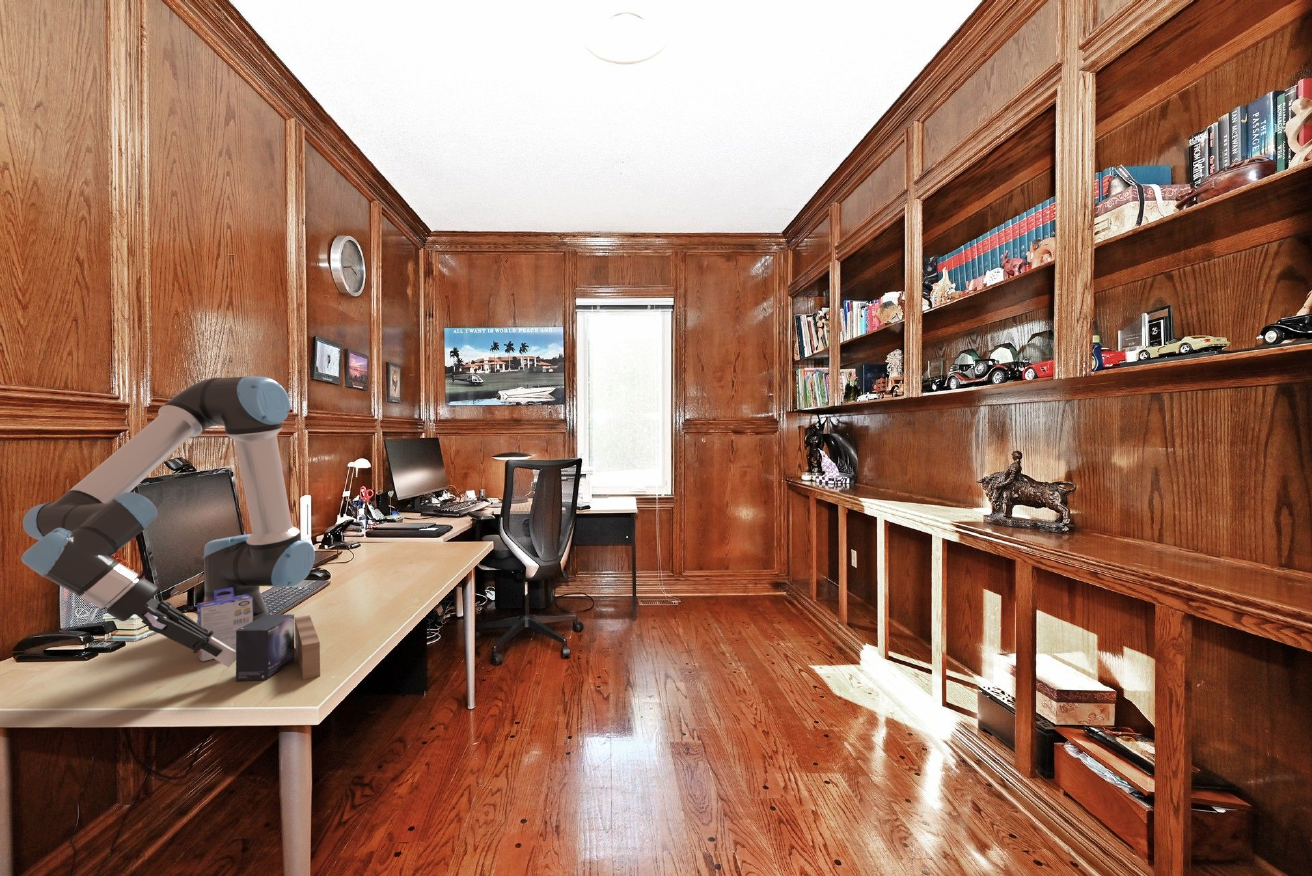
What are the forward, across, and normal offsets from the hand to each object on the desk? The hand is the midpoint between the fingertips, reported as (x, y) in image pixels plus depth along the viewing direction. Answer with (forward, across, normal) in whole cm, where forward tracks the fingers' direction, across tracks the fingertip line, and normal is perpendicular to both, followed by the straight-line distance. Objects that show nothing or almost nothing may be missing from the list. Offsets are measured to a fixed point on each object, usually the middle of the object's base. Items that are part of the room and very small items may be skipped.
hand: (234, 660), depth 118 cm
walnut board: (+12, -1, +6) cm, 13 cm away
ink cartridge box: (+1, -18, -4) cm, 18 cm away
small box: (+7, 0, +1) cm, 7 cm away
